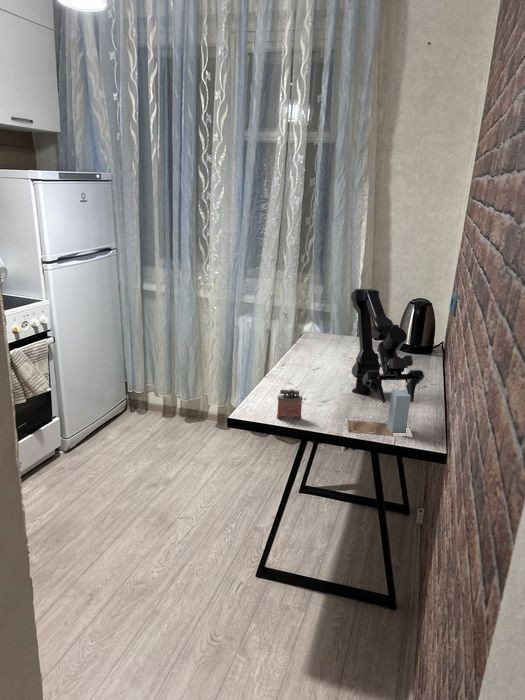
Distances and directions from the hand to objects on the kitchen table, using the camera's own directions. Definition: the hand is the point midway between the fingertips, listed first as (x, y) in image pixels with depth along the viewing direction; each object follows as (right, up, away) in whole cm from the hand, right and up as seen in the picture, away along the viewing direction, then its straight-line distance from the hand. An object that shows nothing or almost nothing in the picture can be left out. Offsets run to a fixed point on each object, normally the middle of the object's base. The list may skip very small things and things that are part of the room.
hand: (398, 402), depth 169 cm
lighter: (-34, -6, +7) cm, 35 cm away
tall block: (0, -9, +1) cm, 9 cm away
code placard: (-5, -9, +2) cm, 10 cm away
